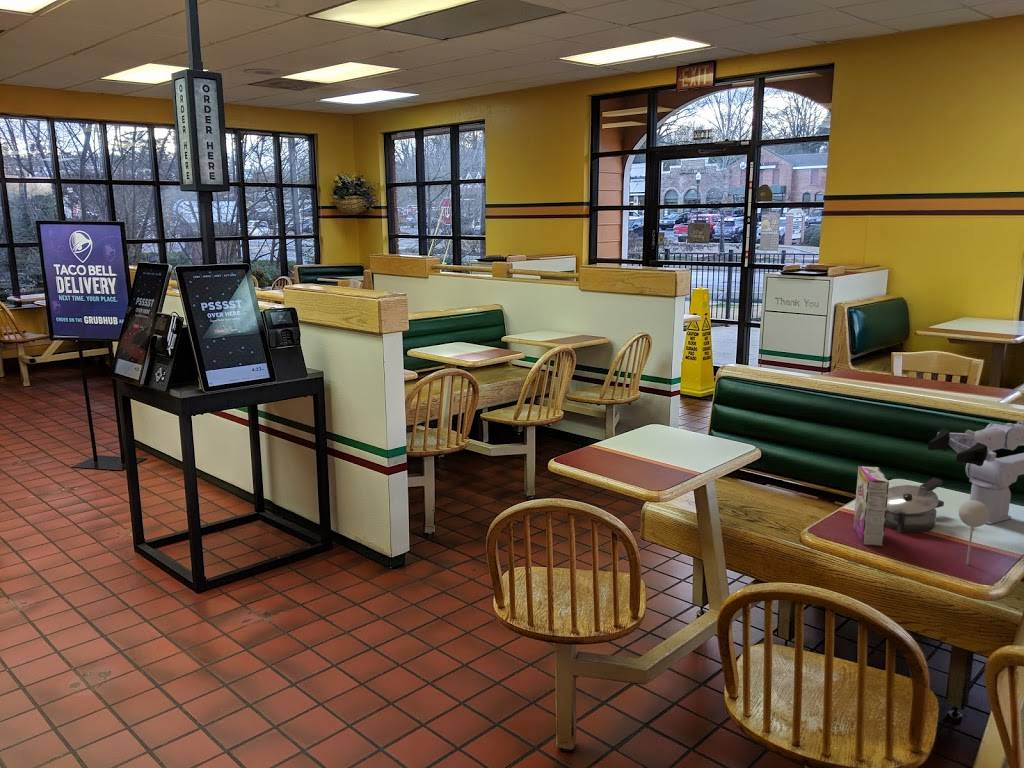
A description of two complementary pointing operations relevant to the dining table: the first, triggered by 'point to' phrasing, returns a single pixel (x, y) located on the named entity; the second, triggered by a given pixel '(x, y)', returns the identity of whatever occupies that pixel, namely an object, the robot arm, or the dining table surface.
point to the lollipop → (973, 517)
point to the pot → (913, 520)
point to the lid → (913, 498)
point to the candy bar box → (871, 505)
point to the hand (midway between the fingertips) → (943, 451)
